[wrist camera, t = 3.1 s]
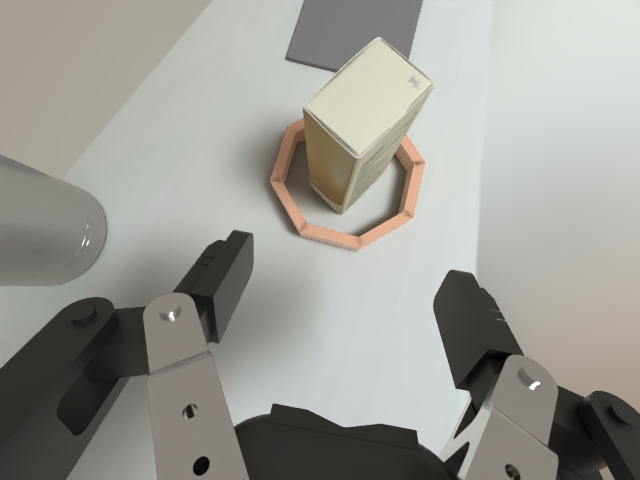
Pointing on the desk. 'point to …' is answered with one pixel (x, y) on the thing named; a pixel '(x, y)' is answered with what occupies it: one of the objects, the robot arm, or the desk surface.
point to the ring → (405, 213)
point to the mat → (351, 29)
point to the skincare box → (361, 121)
